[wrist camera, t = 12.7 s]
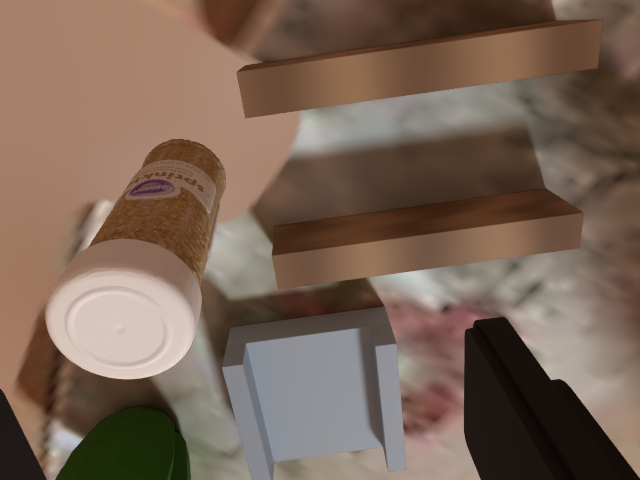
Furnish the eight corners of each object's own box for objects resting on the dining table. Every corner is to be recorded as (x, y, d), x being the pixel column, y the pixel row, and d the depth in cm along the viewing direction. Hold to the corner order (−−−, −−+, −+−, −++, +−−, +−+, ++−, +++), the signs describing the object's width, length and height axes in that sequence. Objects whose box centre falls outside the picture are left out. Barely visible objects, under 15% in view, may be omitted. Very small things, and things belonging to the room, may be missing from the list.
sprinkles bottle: (206, 125, 26) (154, 248, 14) (238, 200, 28) (217, 362, 16) (126, 152, 26) (7, 295, 14) (164, 224, 28) (89, 401, 16)
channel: (556, 20, 24) (602, 19, 21) (543, 220, 29) (580, 248, 25) (245, 65, 25) (236, 72, 21) (280, 256, 29) (278, 289, 25)
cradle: (384, 306, 31) (396, 343, 27) (395, 422, 35) (406, 469, 31) (230, 327, 31) (221, 367, 27) (258, 441, 35) (254, 489, 31)
